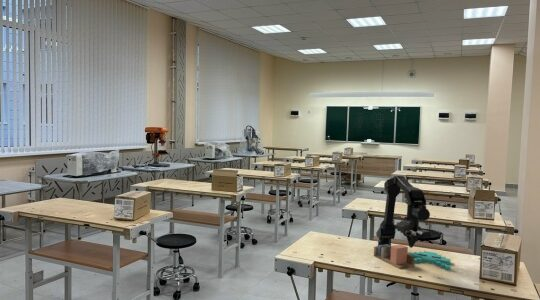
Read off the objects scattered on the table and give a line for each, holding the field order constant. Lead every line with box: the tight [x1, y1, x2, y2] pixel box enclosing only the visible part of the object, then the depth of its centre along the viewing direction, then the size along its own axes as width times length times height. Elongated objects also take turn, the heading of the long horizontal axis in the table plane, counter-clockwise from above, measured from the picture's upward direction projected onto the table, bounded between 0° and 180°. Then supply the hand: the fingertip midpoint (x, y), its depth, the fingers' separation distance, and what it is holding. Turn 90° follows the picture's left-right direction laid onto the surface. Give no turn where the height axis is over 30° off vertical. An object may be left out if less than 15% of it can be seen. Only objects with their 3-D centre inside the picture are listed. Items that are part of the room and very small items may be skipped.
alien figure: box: [408, 250, 451, 272], centre depth 201 cm, size 20×2×20 cm
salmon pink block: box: [390, 244, 409, 264], centre depth 194 cm, size 7×4×8 cm, turn 114°
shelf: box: [373, 244, 415, 270], centre depth 198 cm, size 9×19×6 cm, turn 24°
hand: (410, 247), depth 186 cm, fingers closed
